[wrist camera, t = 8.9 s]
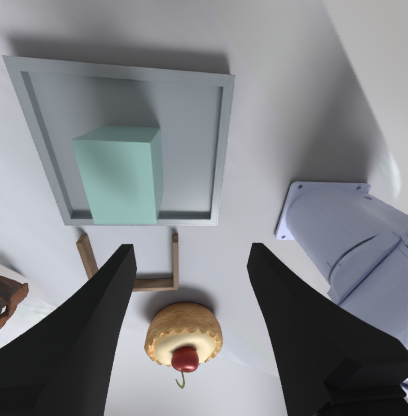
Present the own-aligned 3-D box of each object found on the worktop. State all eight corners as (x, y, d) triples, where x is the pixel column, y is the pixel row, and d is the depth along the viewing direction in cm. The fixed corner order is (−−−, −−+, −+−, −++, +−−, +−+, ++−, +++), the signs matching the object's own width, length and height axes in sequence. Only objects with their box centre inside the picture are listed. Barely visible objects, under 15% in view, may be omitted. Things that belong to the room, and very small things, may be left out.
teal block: (160, 127, 17) (150, 142, 12) (163, 190, 20) (156, 224, 15) (106, 124, 16) (70, 139, 11) (118, 189, 19) (94, 224, 14)
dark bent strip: (178, 234, 24) (177, 242, 23) (178, 281, 28) (178, 290, 27) (82, 234, 23) (75, 243, 21) (97, 283, 27) (93, 292, 26)
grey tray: (230, 76, 16) (235, 75, 15) (215, 217, 23) (217, 225, 22) (19, 59, 14) (2, 55, 13) (72, 217, 21) (64, 225, 20)
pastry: (226, 297, 32) (241, 359, 25) (208, 336, 38) (216, 397, 30) (152, 293, 30) (144, 362, 22) (144, 336, 35) (135, 403, 27)
